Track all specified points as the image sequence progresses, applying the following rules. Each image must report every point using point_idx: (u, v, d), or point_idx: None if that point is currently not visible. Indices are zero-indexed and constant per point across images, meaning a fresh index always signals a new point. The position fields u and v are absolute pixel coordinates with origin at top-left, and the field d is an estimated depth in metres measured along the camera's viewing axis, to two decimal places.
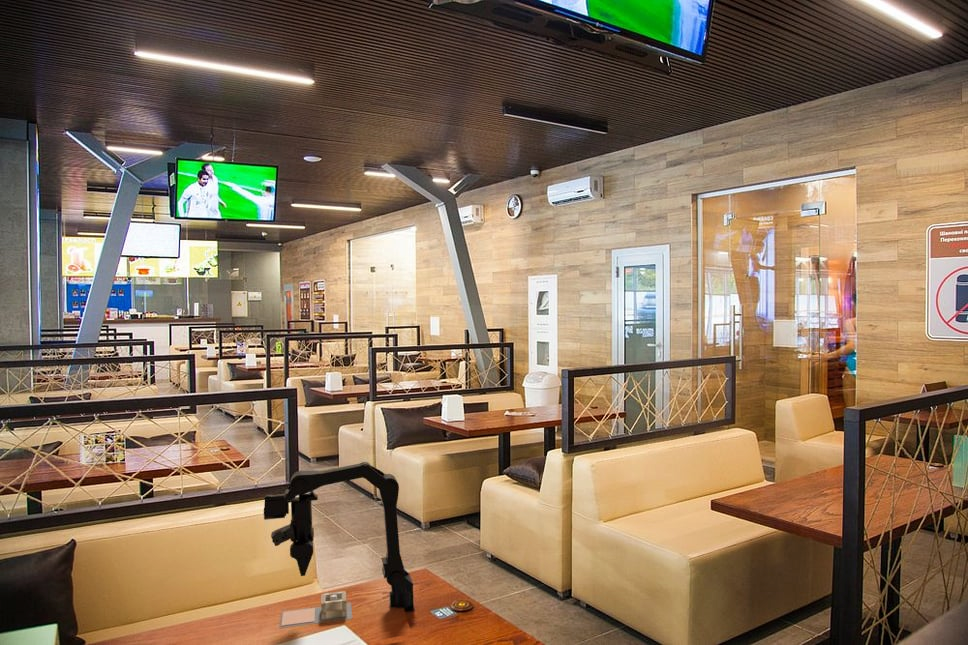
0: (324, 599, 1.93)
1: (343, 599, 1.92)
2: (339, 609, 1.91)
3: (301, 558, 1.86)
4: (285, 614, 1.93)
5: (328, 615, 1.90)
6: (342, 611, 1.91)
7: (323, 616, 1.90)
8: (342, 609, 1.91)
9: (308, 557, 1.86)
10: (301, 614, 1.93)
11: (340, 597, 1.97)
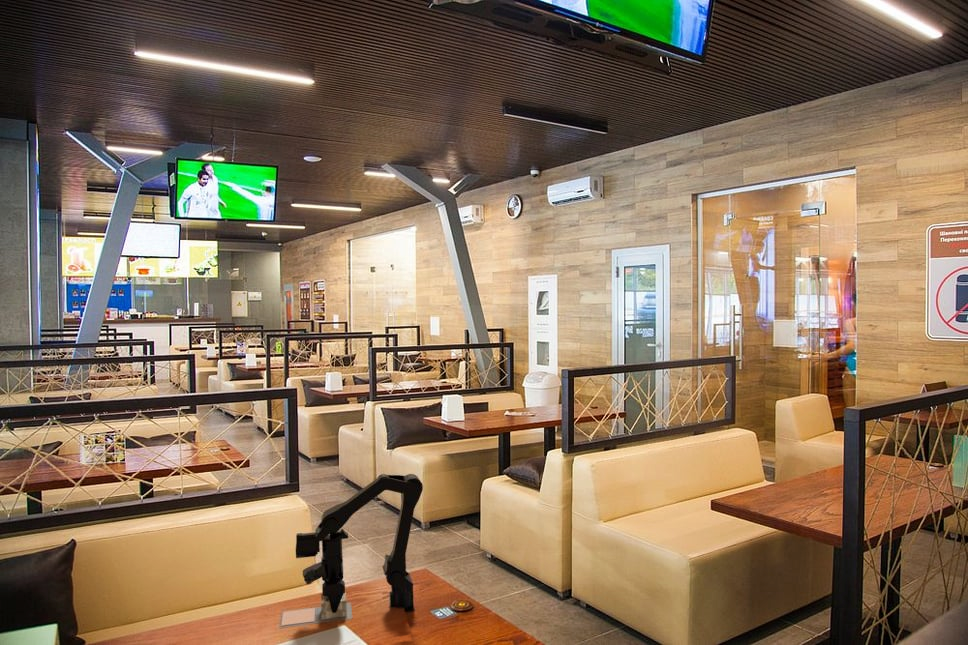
0: (324, 599, 1.93)
1: (343, 599, 1.92)
2: (339, 609, 1.91)
3: (333, 595, 1.89)
4: (285, 614, 1.93)
5: (328, 615, 1.90)
6: (342, 611, 1.91)
7: (323, 616, 1.90)
8: (342, 609, 1.91)
9: (340, 594, 1.89)
10: (301, 614, 1.93)
11: None
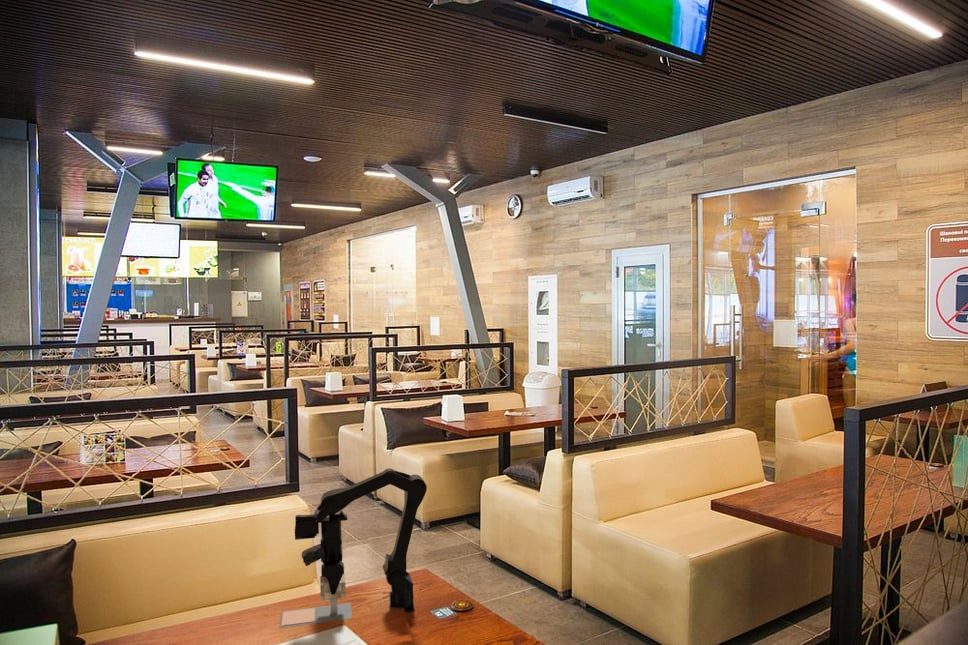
0: (323, 581, 1.92)
1: (342, 581, 1.92)
2: (338, 591, 1.91)
3: (332, 577, 1.89)
4: (285, 614, 1.93)
5: (327, 597, 1.90)
6: (341, 593, 1.91)
7: (322, 598, 1.90)
8: (341, 591, 1.91)
9: (339, 576, 1.89)
10: (301, 614, 1.93)
11: None
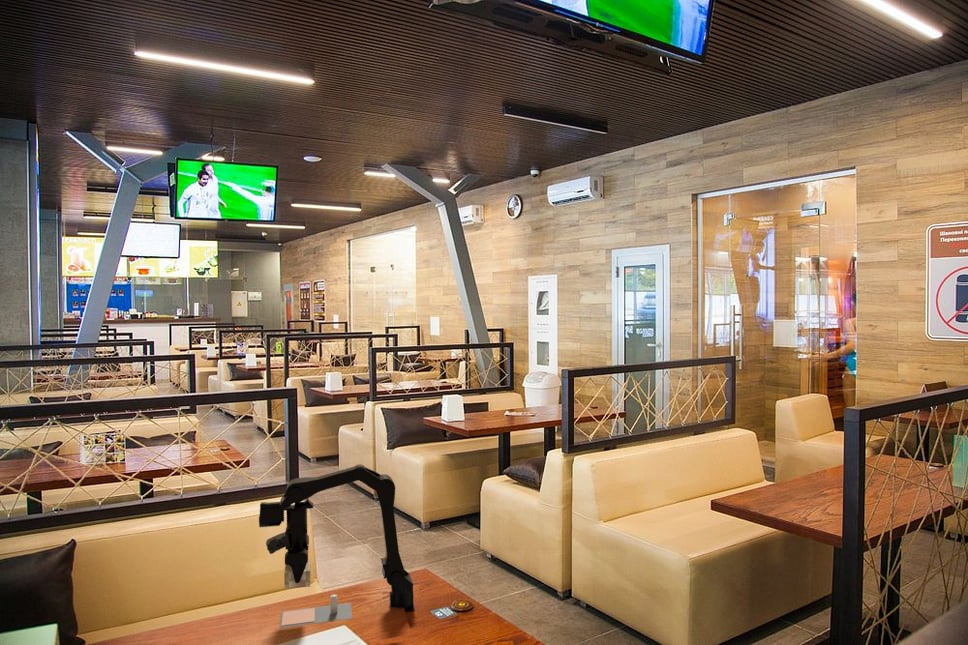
0: (288, 569, 1.90)
1: (307, 569, 1.90)
2: (302, 579, 1.89)
3: (296, 565, 1.87)
4: (285, 614, 1.93)
5: (291, 585, 1.88)
6: (305, 581, 1.89)
7: (286, 586, 1.87)
8: (305, 579, 1.89)
9: (303, 564, 1.87)
10: (301, 614, 1.93)
11: None
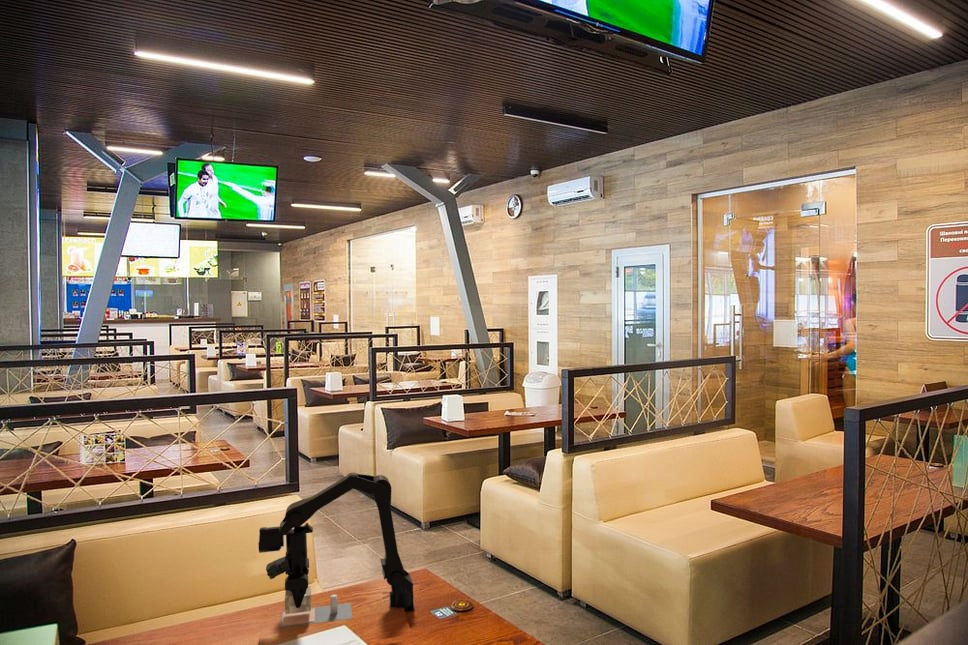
0: (288, 594, 1.90)
1: (307, 594, 1.90)
2: (303, 604, 1.89)
3: (296, 590, 1.87)
4: (285, 614, 1.93)
5: (292, 610, 1.88)
6: (306, 606, 1.89)
7: (286, 611, 1.87)
8: (306, 604, 1.89)
9: (303, 589, 1.87)
10: (301, 614, 1.93)
11: None
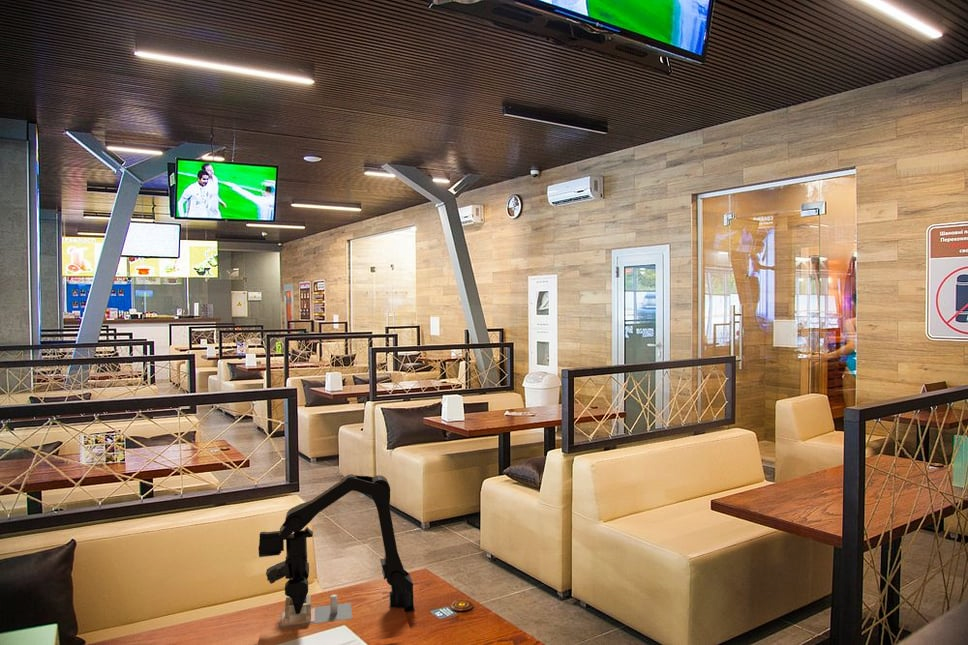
0: (288, 603, 1.90)
1: (307, 603, 1.90)
2: (303, 613, 1.89)
3: (296, 596, 1.86)
4: None
5: (292, 619, 1.88)
6: (306, 615, 1.89)
7: (287, 620, 1.87)
8: (306, 613, 1.89)
9: (303, 595, 1.86)
10: None
11: (305, 601, 1.94)
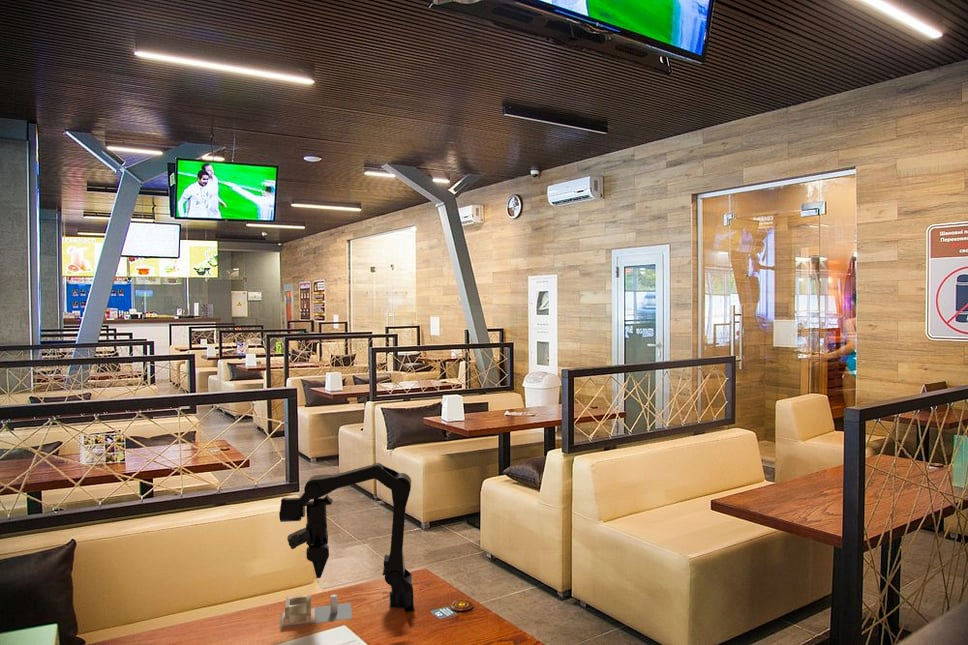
0: (288, 603, 1.90)
1: (307, 603, 1.90)
2: (303, 613, 1.89)
3: (317, 561, 1.91)
4: None
5: (292, 619, 1.88)
6: (306, 615, 1.89)
7: (287, 620, 1.87)
8: (306, 613, 1.89)
9: (324, 560, 1.91)
10: None
11: (305, 601, 1.94)
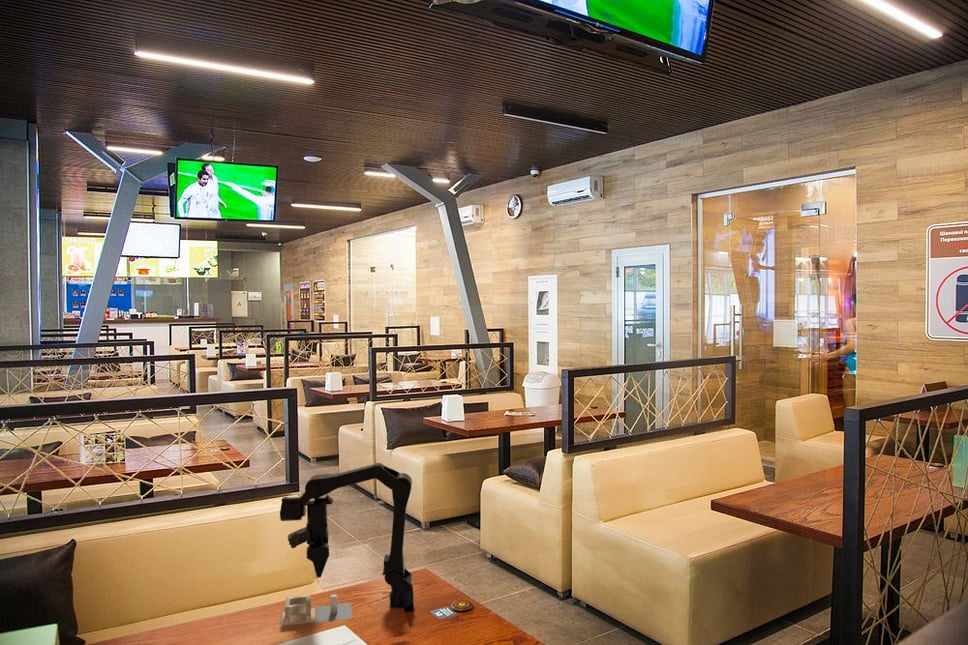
0: (288, 603, 1.90)
1: (307, 603, 1.90)
2: (303, 613, 1.89)
3: (317, 560, 1.91)
4: None
5: (292, 619, 1.88)
6: (306, 615, 1.89)
7: (287, 620, 1.87)
8: (306, 613, 1.89)
9: (324, 559, 1.91)
10: None
11: (305, 601, 1.94)
